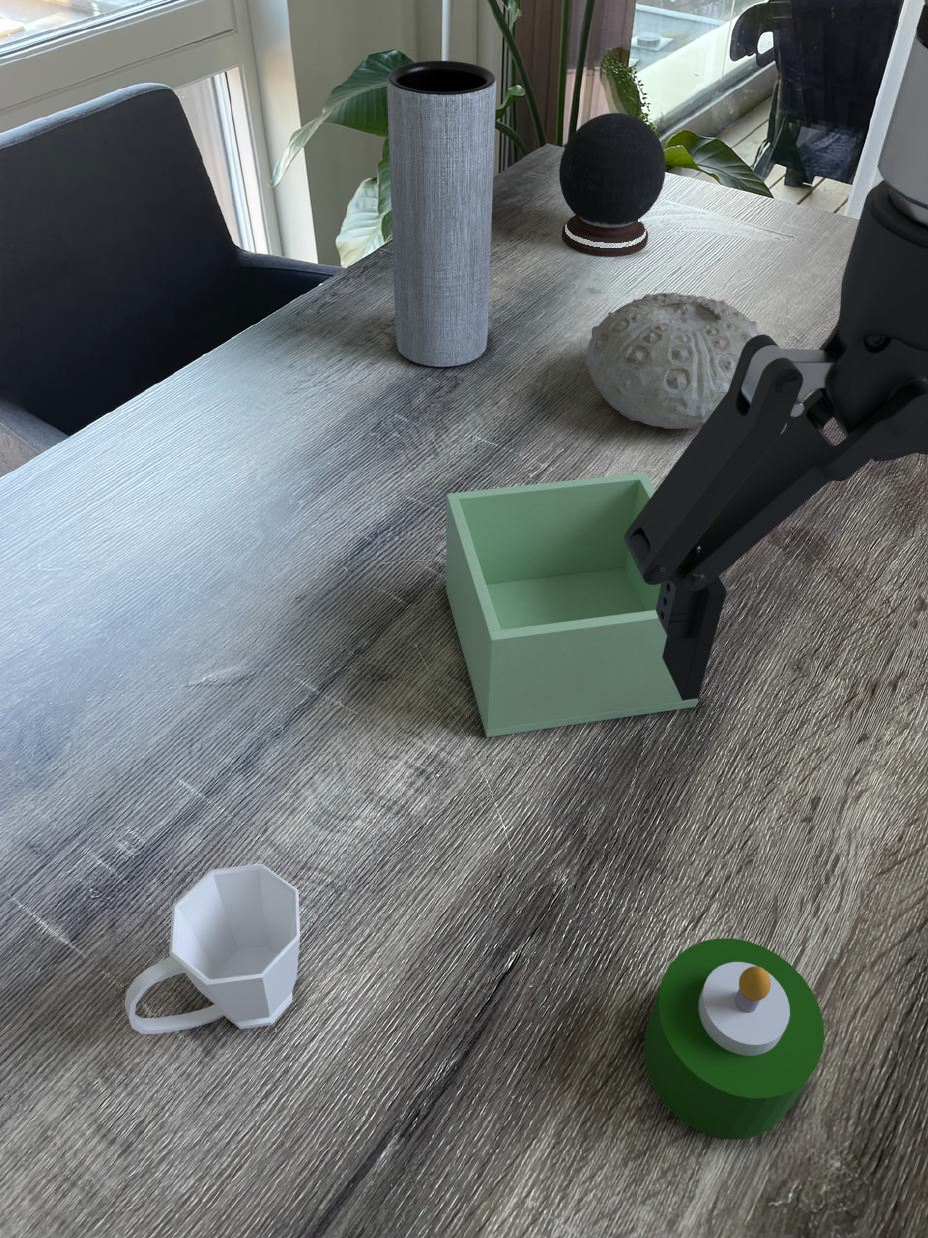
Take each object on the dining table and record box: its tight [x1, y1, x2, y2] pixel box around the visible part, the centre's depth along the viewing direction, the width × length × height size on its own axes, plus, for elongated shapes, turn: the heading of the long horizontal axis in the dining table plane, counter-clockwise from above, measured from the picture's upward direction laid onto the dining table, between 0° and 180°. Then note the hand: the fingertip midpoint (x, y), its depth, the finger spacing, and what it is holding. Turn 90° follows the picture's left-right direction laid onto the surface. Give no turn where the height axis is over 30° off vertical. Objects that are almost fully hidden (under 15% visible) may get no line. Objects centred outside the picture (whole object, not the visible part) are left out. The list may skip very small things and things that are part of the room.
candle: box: [643, 937, 825, 1140], centre depth 51 cm, size 8×8×10 cm
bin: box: [445, 471, 699, 738], centre depth 74 cm, size 16×16×10 cm
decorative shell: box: [585, 292, 762, 430], centre depth 99 cm, size 18×18×10 cm
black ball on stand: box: [558, 112, 667, 258], centre depth 125 cm, size 13×13×15 cm
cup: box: [124, 862, 301, 1035], centre depth 53 cm, size 7×10×8 cm
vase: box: [386, 60, 497, 368], centre depth 100 cm, size 10×10×27 cm
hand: (817, 658), depth 47 cm, fingers open, 13 cm apart
